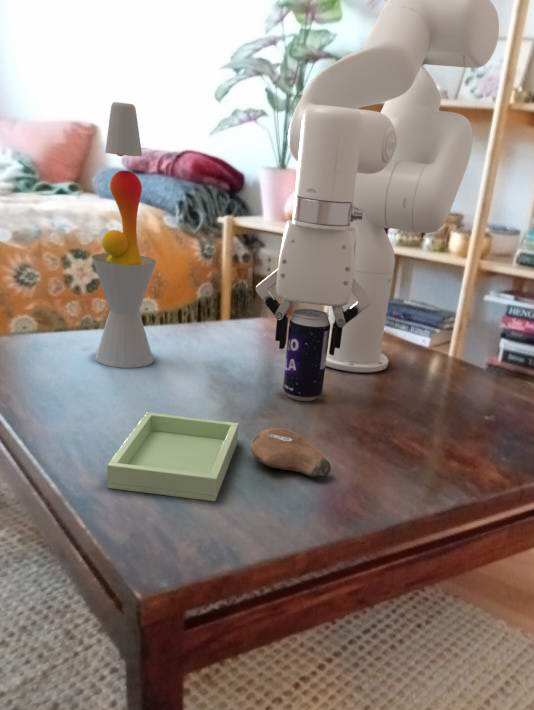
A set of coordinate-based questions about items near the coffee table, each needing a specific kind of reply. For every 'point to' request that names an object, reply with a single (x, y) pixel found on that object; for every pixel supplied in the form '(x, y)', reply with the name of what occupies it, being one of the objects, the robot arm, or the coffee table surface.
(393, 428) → the coffee table surface
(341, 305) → the robot arm
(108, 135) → the lava lamp
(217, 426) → the tray
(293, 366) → the beverage can
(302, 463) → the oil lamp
